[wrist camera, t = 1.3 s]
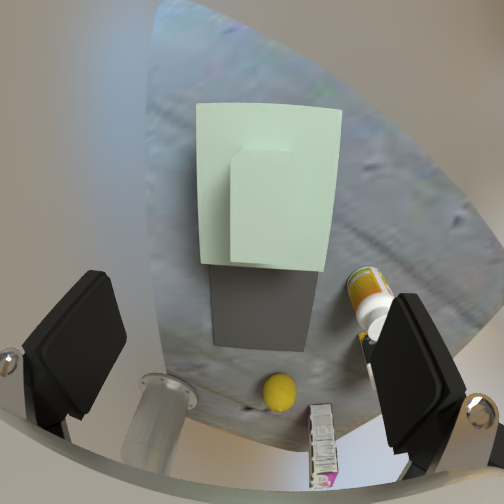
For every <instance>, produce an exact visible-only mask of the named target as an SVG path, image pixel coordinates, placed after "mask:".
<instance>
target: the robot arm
mask: <svg viewBox="0 0 504 504" xmlns="http://www.w3.org/2000/svg"><path fill="white" fill-rule="evenodd" d="M126 339H127V336H126V332H125V328H124V325H123V322H122V319H121V316H120V312H119V309H118V305H117V302H116V298H115V295H114V291H113V288H112V284H111V280H110V278H109V277H108V276H107V275H106V273H105V272H103V271H94V270H89V271H87V272H86V273H85V274H84V275H83V276H82V277H81V279H80V280H79V281H78V282H77V283H76V284H75V285H74V286H73V287H72V288H71V289H70V290H69V291H68V292H67V294H65V296H64V297H63V298H62V299H61V300H60V301H59V302H58V303H57V304H56V306H55V307H54V308H53V309H52V310H51V311H50V312H49V313H48V315H47V316H46V317H45V318H44V319H43V320H42V321H41V323H40V324H39V325H38V326H37V327H36V329H35V330H34V331H33V332H32V333H31V335H30V336H29V337H28V338H27V340H26V341H25V342H24V343H23V345H22V347H23V349H24V350H25V354H24V355H22V353H21V352H20V351H19V350H18V349H16V348H6V349H4V350H2V351H0V504H504V425H502V424H500V423H499V412H498V408H497V406H496V404H495V403H494V401H493V400H492V399H491V398H489V397H488V396H486V395H484V394H481V393H473V394H470V395H469V396H466V394H465V391H466V390H467V389H466V387H465V384H464V382H463V380H462V378H461V375H460V373H459V371H458V369H457V367H456V365H455V363H454V361H453V359H452V357H451V355H450V353H449V351H448V349H447V347H446V345H445V343H444V341H443V339H442V337H441V335H440V333H439V332H438V330H437V328H436V326H435V324H434V322H433V321H432V319H431V317H430V315H429V314H428V312H427V310H426V308H425V307H424V305H423V303H422V302H421V300H420V298H419V296H418V295H417V294H415V293H400V294H399V295H398V297H397V298H394V299H393V300H392V303H391V306H390V309H389V311H388V314H387V317H386V319H385V322H384V325H383V327H382V330H381V332H380V335H379V337H378V340H377V342H376V345H375V347H374V349H373V352H372V354H371V358H370V365H371V369H372V373H373V377H374V381H375V385H376V389H377V394H378V398H379V402H380V407H381V411H382V415H383V421H384V426H385V431H386V436H387V441H388V445H389V446H390V447H393V451H394V455H395V454H401V453H407V452H408V455H409V461H408V463H407V464H406V466H405V468H404V470H403V471H402V473H401V475H400V476H399V478H398V479H397V481H396V482H392V483H386V484H380V485H373V486H366V487H359V488H350V489H340V490H327V491H304V492H303V491H300V492H288V491H261V490H248V489H237V488H229V487H221V486H214V485H208V484H201V483H196V482H191V481H186V480H181V479H176V478H172V477H169V475H170V471H171V468H172V464H173V460H174V456H175V452H176V449H177V445H178V442H179V437H180V434H181V430H182V427H183V423H184V420H185V416H186V413H187V410H190V409H192V408H194V407H195V406H196V404H197V401H198V396H197V394H196V392H195V391H194V390H193V388H192V387H190V386H189V385H188V384H187V383H185V382H184V381H182V380H180V379H178V378H176V377H173V376H170V375H167V374H162V373H150V374H146V375H144V376H143V377H142V378H141V380H140V384H139V386H140V389H141V391H142V393H143V395H142V398H141V400H140V402H139V405H138V408H137V410H136V412H135V415H134V417H133V420H132V422H131V425H130V427H129V430H128V432H127V435H126V438H125V440H124V443H123V445H122V449H121V459H122V462H123V463H120V462H117V461H114V460H112V459H109V458H106V457H104V456H101V455H99V454H96V453H94V452H91V451H89V450H86V449H84V448H82V447H79V446H77V445H75V444H72V442H71V439H70V436H69V432H68V427H67V424H66V419H65V417H66V415H67V413H68V414H69V415H70V416H72V417H74V418H77V419H79V420H82V418H83V417H84V415H85V414H87V413H88V412H89V411H90V409H91V407H92V405H93V403H94V401H95V399H96V397H97V395H98V393H99V391H100V390H101V388H102V386H103V384H104V382H105V380H106V378H107V376H108V375H109V373H110V371H111V369H112V367H113V365H114V363H115V362H116V360H117V358H118V356H119V354H120V353H121V351H122V349H123V347H124V345H125V343H126Z"/></svg>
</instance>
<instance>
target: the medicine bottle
mask: <svg viewBox="0 0 504 504" xmlns="http://www.w3.org/2000/svg"><path fill="white" fill-rule="evenodd" d="M358 336H359V340H360V343H361V347H362V351H363V354H364V358H365V362H366V366H367V370H368V374H369V378H370V382H371V386H372V389H373V390H377V389H376V385H375V381H374V377H373V373H372V369H371V365H370V358H371V354H372V352H373V349H374V347H375V345H376V342H377V341H374V340H372V339H371V338H370V337H369V336H368V334H367V331H364V332H362V333H359V335H358Z"/></svg>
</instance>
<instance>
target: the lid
mask: <svg viewBox="0 0 504 504" xmlns="http://www.w3.org/2000/svg"><path fill="white" fill-rule="evenodd" d="M341 122H342V110H337V109H329V108H320V107H311V106H300V105H286V104H267V103H202V104H196V151H197V195H198V220H199V240H200V257H201V264H214V265H228V266H242V267H257V268H272V269H288V270H304V271H322V272H323V271H324V266H325V260H326V253H327V247H328V240H329V234H330V227H331V220H332V212H333V204H334V196H335V188H336V179H337V169H338V159H339V148H340V136H341Z"/></svg>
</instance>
